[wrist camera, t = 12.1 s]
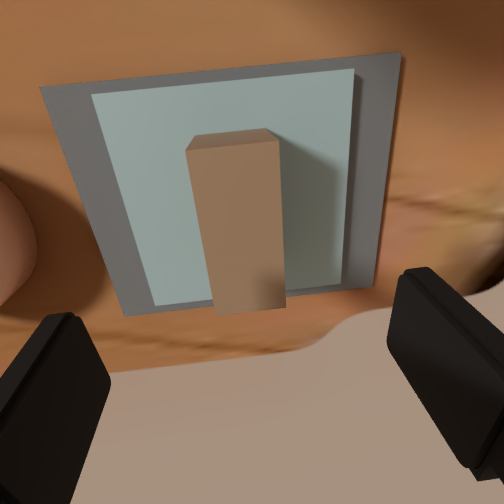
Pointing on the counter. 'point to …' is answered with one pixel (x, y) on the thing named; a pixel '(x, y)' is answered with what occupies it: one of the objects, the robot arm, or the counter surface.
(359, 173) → the mat
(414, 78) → the counter surface
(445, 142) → the counter surface
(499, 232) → the counter surface
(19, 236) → the bowl
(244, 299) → the cover
